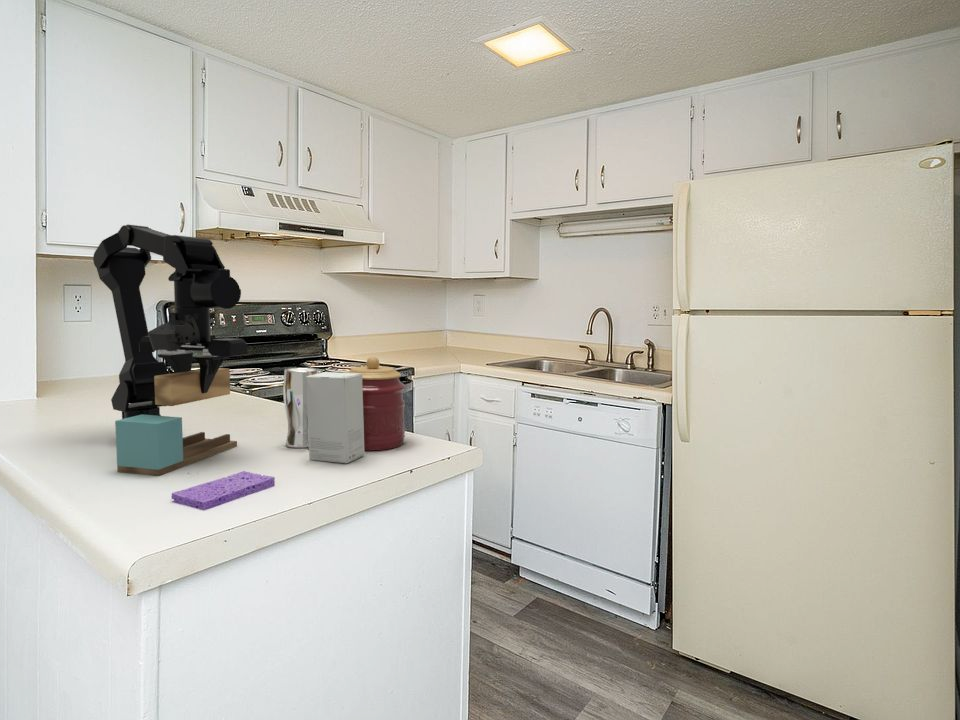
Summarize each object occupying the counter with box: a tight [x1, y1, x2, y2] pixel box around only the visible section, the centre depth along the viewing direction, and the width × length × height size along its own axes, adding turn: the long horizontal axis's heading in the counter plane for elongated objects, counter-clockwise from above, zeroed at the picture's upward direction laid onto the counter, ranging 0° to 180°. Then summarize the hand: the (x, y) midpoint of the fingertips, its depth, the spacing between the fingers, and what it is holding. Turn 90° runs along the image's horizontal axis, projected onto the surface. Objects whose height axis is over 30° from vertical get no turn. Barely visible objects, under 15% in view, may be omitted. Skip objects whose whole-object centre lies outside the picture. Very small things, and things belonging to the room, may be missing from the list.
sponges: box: [170, 470, 276, 511], centre depth 86 cm, size 7×13×2 cm, turn 152°
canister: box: [345, 356, 406, 451], centre depth 116 cm, size 13×13×18 cm
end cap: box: [114, 414, 184, 470], centre depth 96 cm, size 8×6×8 cm
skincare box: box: [306, 371, 366, 464], centre depth 105 cm, size 8×7×16 cm
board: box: [117, 431, 238, 477], centre depth 103 cm, size 8×20×2 cm, turn 167°
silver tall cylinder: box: [282, 367, 320, 449], centre depth 114 cm, size 7×7×15 cm
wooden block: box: [154, 367, 231, 407], centre depth 106 cm, size 4×14×5 cm, turn 162°
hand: (194, 392), depth 106 cm, fingers closed on wooden block, 4 cm apart
